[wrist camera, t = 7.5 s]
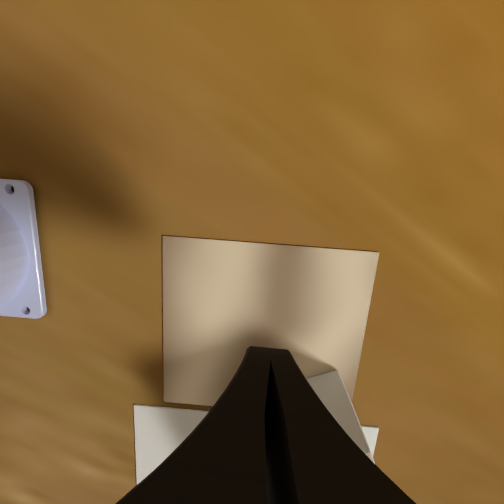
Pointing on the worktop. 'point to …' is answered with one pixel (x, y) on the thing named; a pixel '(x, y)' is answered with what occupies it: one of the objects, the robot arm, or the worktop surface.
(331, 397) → the small box
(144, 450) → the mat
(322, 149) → the worktop surface
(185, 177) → the worktop surface
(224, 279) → the shelf board
